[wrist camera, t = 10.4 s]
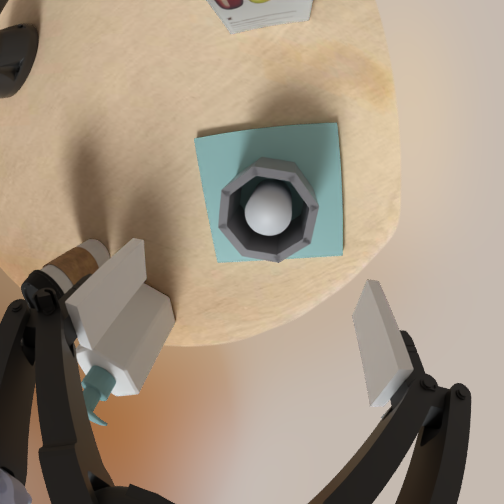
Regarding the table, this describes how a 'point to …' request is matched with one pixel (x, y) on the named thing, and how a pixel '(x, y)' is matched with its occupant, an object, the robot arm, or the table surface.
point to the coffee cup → (66, 270)
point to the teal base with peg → (275, 183)
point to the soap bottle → (126, 349)
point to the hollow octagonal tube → (258, 244)
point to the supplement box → (259, 13)
